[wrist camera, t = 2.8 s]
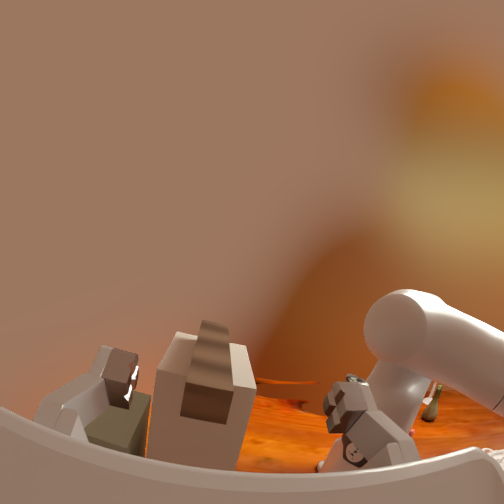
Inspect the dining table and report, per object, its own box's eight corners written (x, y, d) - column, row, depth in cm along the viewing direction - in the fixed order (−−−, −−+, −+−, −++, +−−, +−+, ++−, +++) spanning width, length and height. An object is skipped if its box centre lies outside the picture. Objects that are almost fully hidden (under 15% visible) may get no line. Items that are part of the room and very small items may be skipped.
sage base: (125, 526, 26) (127, 448, 26) (58, 502, 25) (46, 418, 26) (143, 471, 40) (151, 395, 40) (88, 453, 39) (88, 376, 39)
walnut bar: (225, 424, 21) (234, 391, 21) (179, 415, 21) (185, 382, 21) (223, 345, 42) (227, 325, 42) (198, 340, 42) (202, 319, 42)
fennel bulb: (427, 415, 81) (440, 382, 81) (437, 421, 76) (451, 387, 76) (417, 417, 79) (430, 384, 79) (427, 423, 74) (441, 389, 74)
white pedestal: (214, 537, 29) (256, 389, 29) (142, 523, 28) (157, 368, 28) (214, 476, 44) (245, 345, 44) (157, 465, 43) (177, 331, 43)
